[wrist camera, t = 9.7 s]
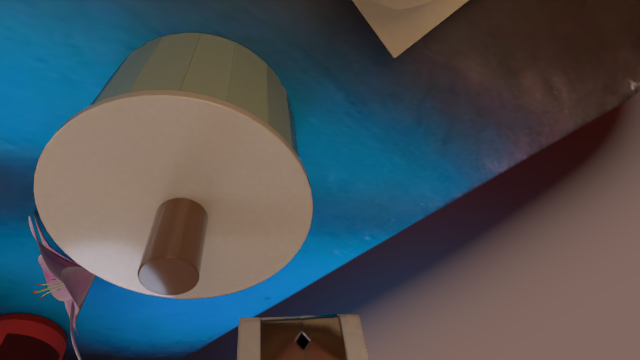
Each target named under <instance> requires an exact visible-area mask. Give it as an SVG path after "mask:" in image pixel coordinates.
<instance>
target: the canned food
mask: <svg viewBox="0 0 640 360" xmlns="http://www.w3.org/2000/svg"><path fill="white" fill-rule="evenodd" d="M66 342H67V338H66V334H65V332H64V331H63V329H62V328H61V327H60V326H59V325H57V324H56V323H54V322H53V321H51V320H49V319H46V318H44V317H41V316H37V315H32V314H23V313H16V314H7V315H2V316H0V360H62V357H63V355H64V352H65V350H66Z"/></svg>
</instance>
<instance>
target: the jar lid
mask: <svg viewBox="0 0 640 360" xmlns="http://www.w3.org/2000/svg"><path fill="white" fill-rule="evenodd" d="M34 196H35V203H36V207H37V210H38V213H39V216H40V218H41V220H42V222H43V224H44V226H45V228H46V230H47V232H48V233H49V234H50V236H51V237H52V239H53V240H54V241H55V243H56V244H57V245H58V246H59V247H60V248H61V249H62V250H63V251H64V252H65V253H66V254H67V255H68V256H69V257H70V258H71V259H73V260H74V261H75V262H76V263H77V264H79V265H80V266H82V267H83V268H85V269H86V270H88V271H89V272H91V273H92V274H94V275H96V276H98V277H100V278H102V279H103V280H105V281H108V282H110V283H112V284H115V285H117V286H120V287H122V288H125V289H128V290H131V291H135V292H139V293H143V294H147V295H152V296H158V297H165V298H177V299H197V298H210V297H216V296H222V295H227V294H231V293H235V292H238V291H241V290H244V289H247V288H250V287H252V286H254V285H256V284H258V283H261V282H263V281H264V280H266V279H268V278H269V277H271V276H273V275H274V274H275V273H277V272H278V271H279V270H281V269H282V268H283V267H284V266H285V265H286V264H287V263H288V262H289V261H290V260H292V258H293V257H294V256H295V255H296V253H297V252H298V251H299V250H300V248H301V246H302V244H303V243H304V241H305V239H306V237H307V234H308V231H309V229H310V225H311V220H312V215H313V200H312V193H311V186H310V182H309V179H308V176H307V173H306V170H305V168H304V166H303V164H302V162H301V160H300V158H299V157H298V155H297V154H296V153H295V151H294V150H293V148H292V147H291V146H290V144H289V143H288V142H287V141H286V140H285V139H284V138H283V137H282V136H281V135H280V134H279V133H278V132H277V131H276V130H274V129H273V128H272V127H271V126H269V125H268V124H267V123H266V122H264V121H263V120H261V119H260V118H258V117H256V116H255V115H253V114H251V113H250V112H248V111H246V110H244V109H242V108H240V107H238V106H235V105H233V104H231V103H229V102H226V101H223V100H220V99H217V98H214V97H211V96H206V95H201V94H197V93H192V92H185V91H174V90H146V91H139V92H132V93H125V94H121V95H118V96H114V97H111V98H107V99H104V100H102V101H100V102H97V103H95V104H93V105H90V106H88V107H87V108H85V109H83V110H82V111H80V112H79V113H77V114H75V115H74V116H72V117H71V118H70V119H69V120H68V121H67V122H66V123H64V124H63V125H62V126H61V127H60V128H59V129H58V130H57V132H56V133H55V134H54V136H53V137H52V138H51V139H50V141H49V142H48V143H47V145H46V146H45V148H44V150H43V152H42V154H41V156H40V158H39V160H38V163H37V167H36V171H35V175H34Z"/></svg>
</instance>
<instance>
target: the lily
mask: <svg viewBox="0 0 640 360" xmlns="http://www.w3.org/2000/svg"><path fill="white" fill-rule="evenodd" d="M34 216H35V213H34ZM35 221H36V225H37V228H38V231H39V234H40V237H41V240H42V243H43V244H41V243H40V242H39V241H38V239H37V236H36V233H35V230H34V227H33V224H32V221H31V218H30V216H29V226H30V229H31V232H32V234H33V236H34V237H35V239H36V240H37V243H38V246H39V249H40V252H41V255H40V256H39V257H38V261H39V263H40V265H41V267H42V270H43V273H44V276H45V280H46V283H47V284H43V283H41V284H38V285H47V286H48V287H44V288H43V289H44V290H40V291H37V290H36V291H33V292H34V293H35V294H37V293H39V292H42V291H46V290H50V292H51V294H52V295H53V296H54V297H55V298H56V299H58V300H59V301H64V303H65V306H66V309H67V312H68V315H69V317H70V329H71V339H72V343H73V347H74V350H75V352H76V355H77V357H78V359H79V360H81V357H80V354H79V351H78V349H77V346H76V342H75V338H74V333H73V326H74V328H75V330H76V333H77V335H78V332H77V329H76V326H75V324H76V320H77V317H78V314H79V312H80V309H81V307H82V305H83V302H84V300H85V298H86V296H87V293H88V291H89V289H90V287H91V284H92V282H93V280H94V278H95V276H96V275H94V274H92V273H91V272H89V271H88V270H86V269H85V268H83V267H82V266H80V265H79V264H77V263H76V262H75V261H73V260H71V259H68V258H67V257H65V256H63V255H62V254H60V253H59V252H57V251H56V250H55V249H53V248H52V246H51V245H50V244H49V243H48V241H47V240H46V238H45V236H44V235H43V232H42V230H41V228H40V226H39V223H38V221H37V218H36V216H35ZM45 288H47V289H45ZM33 292H32V293H33ZM50 292H48V293H50ZM46 294H47V293H46ZM46 294H44V295H46ZM44 295H42V296H41V297H40V298H39V299H41V298H43V297H44Z"/></svg>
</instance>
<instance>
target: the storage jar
mask: <svg viewBox="0 0 640 360" xmlns="http://www.w3.org/2000/svg"><path fill="white" fill-rule="evenodd" d="M146 90H174V91H185V92H192V93H197V94H201V95H206V96H211V97H214V98H217V99H220V100H223V101H226V102H229V103H231V104H233V105H235V106H238V107H240V108H242V109H244V110H246V111H248V112H250V113H251V114H253V115H255V116H256V117H258V118H260V119H261V120H263V121H264V122H266V123H267V124H268V125H269V126H271V127H272V128H273V129H274V130H276V131H277V132H278V133H279V134H280V135H281V136H282V137H283V138H284V139H285V140H286V141H287V142H288V143H289V144H290V146H291V147H292V148H293V150H294V151H295V153H296V154H297V155H298V157H299V154H298V146H297V139H296V131H295V124H294V117H293V113H292V110H291V105H290V102H289V98H288V95H287V92H286V90H285V88H284V86H283V84H282V83H281V81H280V80H279V78H278V77H277V75H276V74H275V72H274V71H273V70H272V69H271V68H270V67H269V65H268V64H266V63H265V62H264V61H263V60H262V59H261V58H260V57H259V56H257V55H256V54H254V53H253V52H252V51H250V50H249V49H247V48H245V47H243V46H241V45H240V44H238V43H236V42H233V41H230V40H228V39H225V38H222V37H218V36H214V35H210V34H202V33H178V34H171V35H167V36H163V37H160V38H156V39H154V40H152V41H150V42H148V43H145V44H144V45H142V46H141V47H139V48H138V49H136V50H134V51H132V52H131V53H130V54H129V56H128V57H127V58H126V59H125V60H124V61H123V63H122V64H121V65H120V66H119V67H118V69H117V70H116V71H115V72H114V73H113V75H112V76H111V77H110V79H109V80H108V81H107V83H106V84H105V85H104V87H103V88H102V89H101V91H100V92H99V93H98V95H97V96H96V98H95V99H94V100H93V102H92V103H91V104H90V105H93V104H95V103H97V102H100V101H102V100H104V99H107V98H111V97H114V96H118V95H121V94H125V93H132V92H139V91H146Z"/></svg>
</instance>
